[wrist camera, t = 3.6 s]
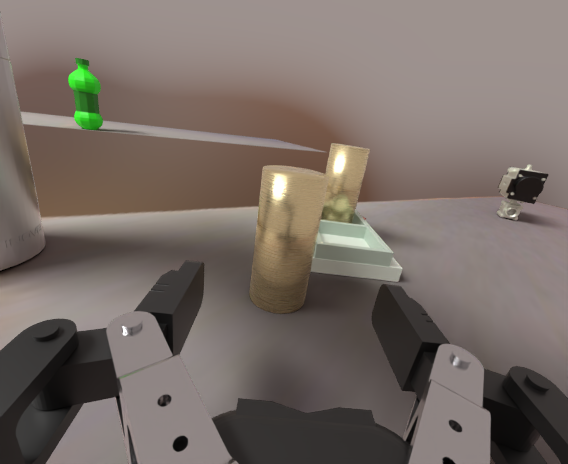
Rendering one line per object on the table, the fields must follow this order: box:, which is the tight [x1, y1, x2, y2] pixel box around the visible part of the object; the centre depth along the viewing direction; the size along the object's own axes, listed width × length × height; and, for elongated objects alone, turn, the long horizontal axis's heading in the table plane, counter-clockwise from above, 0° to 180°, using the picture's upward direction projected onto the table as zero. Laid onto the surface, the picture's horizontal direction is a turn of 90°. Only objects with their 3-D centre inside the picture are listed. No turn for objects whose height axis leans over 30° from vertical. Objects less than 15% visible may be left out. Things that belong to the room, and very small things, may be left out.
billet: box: [249, 165, 329, 314], centre depth 20 cm, size 4×4×10 cm
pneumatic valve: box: [497, 165, 548, 220], centre depth 61 cm, size 6×12×12 cm, turn 152°
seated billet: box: [321, 143, 370, 224], centre depth 34 cm, size 4×4×10 cm
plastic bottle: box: [68, 58, 103, 130], centre depth 109 cm, size 10×10×25 cm
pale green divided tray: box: [310, 210, 402, 282], centre depth 33 cm, size 10×14×3 cm
